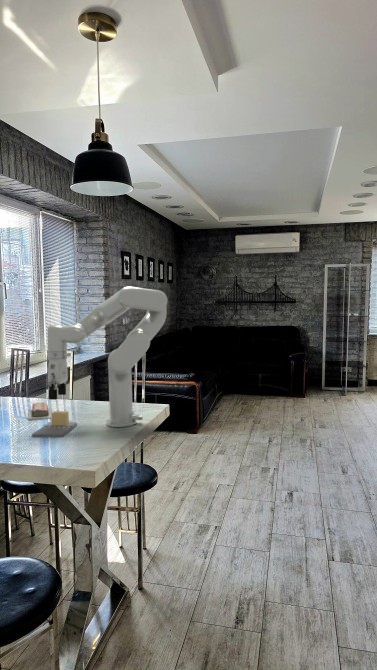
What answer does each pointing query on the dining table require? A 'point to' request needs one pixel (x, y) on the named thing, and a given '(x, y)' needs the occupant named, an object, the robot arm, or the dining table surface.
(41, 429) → the ticket board
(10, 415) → the dining table surface
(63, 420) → the yellow block
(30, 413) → the packaged product
